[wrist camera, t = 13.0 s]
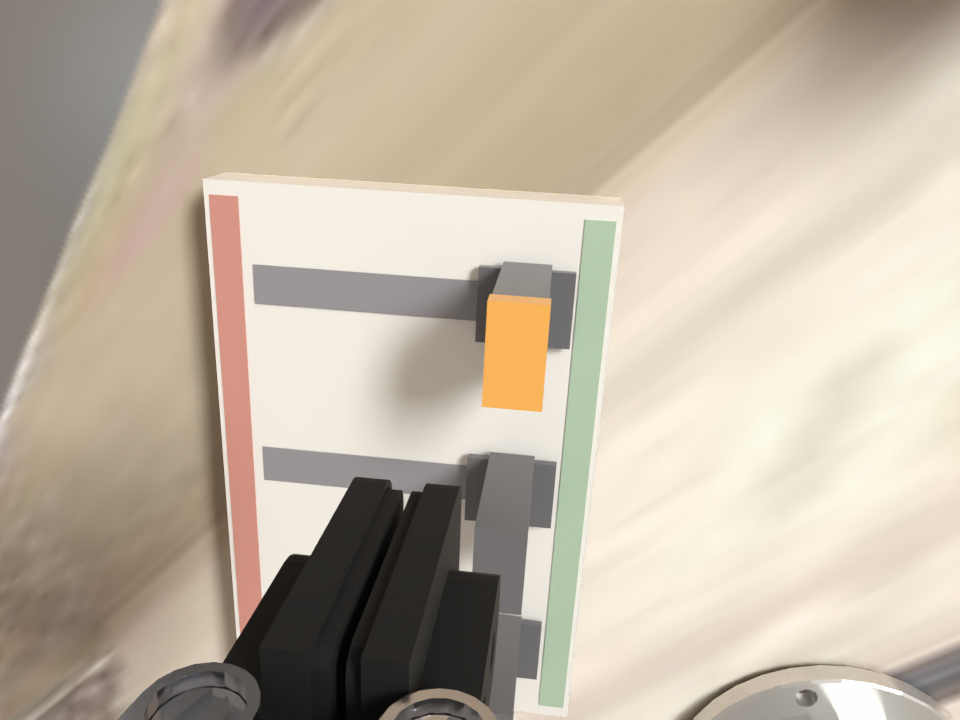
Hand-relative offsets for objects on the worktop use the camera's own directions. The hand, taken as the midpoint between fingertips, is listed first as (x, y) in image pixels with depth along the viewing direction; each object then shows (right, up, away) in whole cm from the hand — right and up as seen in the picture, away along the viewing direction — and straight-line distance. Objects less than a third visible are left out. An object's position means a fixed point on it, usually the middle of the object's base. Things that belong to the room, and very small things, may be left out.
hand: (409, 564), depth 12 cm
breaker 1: (+2, -2, +16) cm, 17 cm away
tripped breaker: (+3, +5, +14) cm, 15 cm away
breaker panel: (-2, 0, +19) cm, 19 cm away
